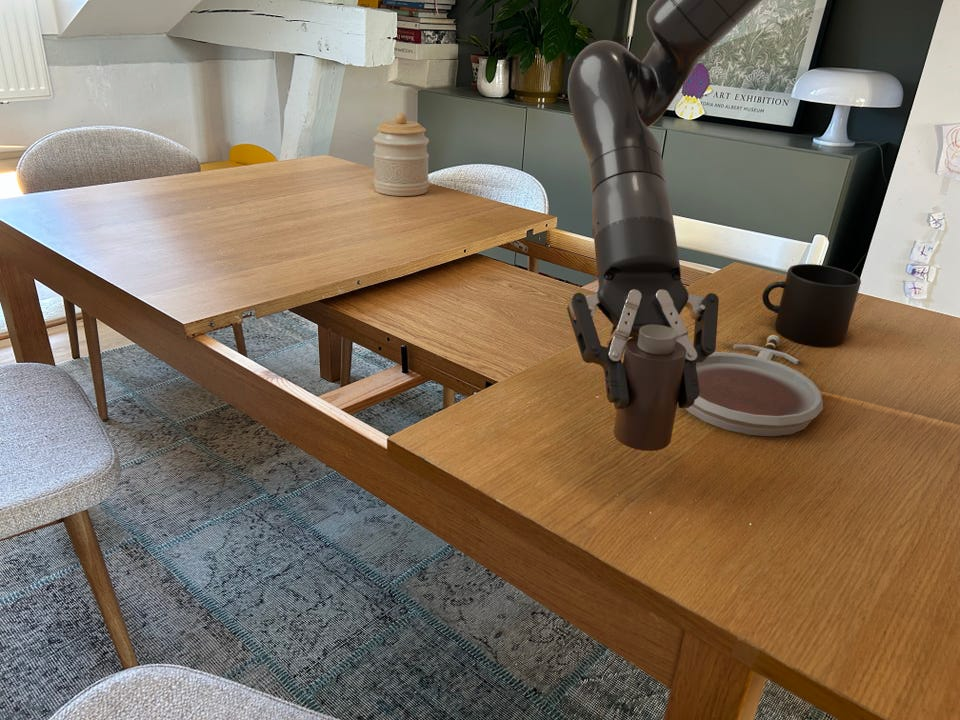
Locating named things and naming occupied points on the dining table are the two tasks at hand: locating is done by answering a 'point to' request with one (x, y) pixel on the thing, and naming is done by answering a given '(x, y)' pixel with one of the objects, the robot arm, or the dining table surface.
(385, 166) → the jar
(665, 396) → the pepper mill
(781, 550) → the dining table surface
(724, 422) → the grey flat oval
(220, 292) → the dining table surface
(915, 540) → the dining table surface
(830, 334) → the mug
